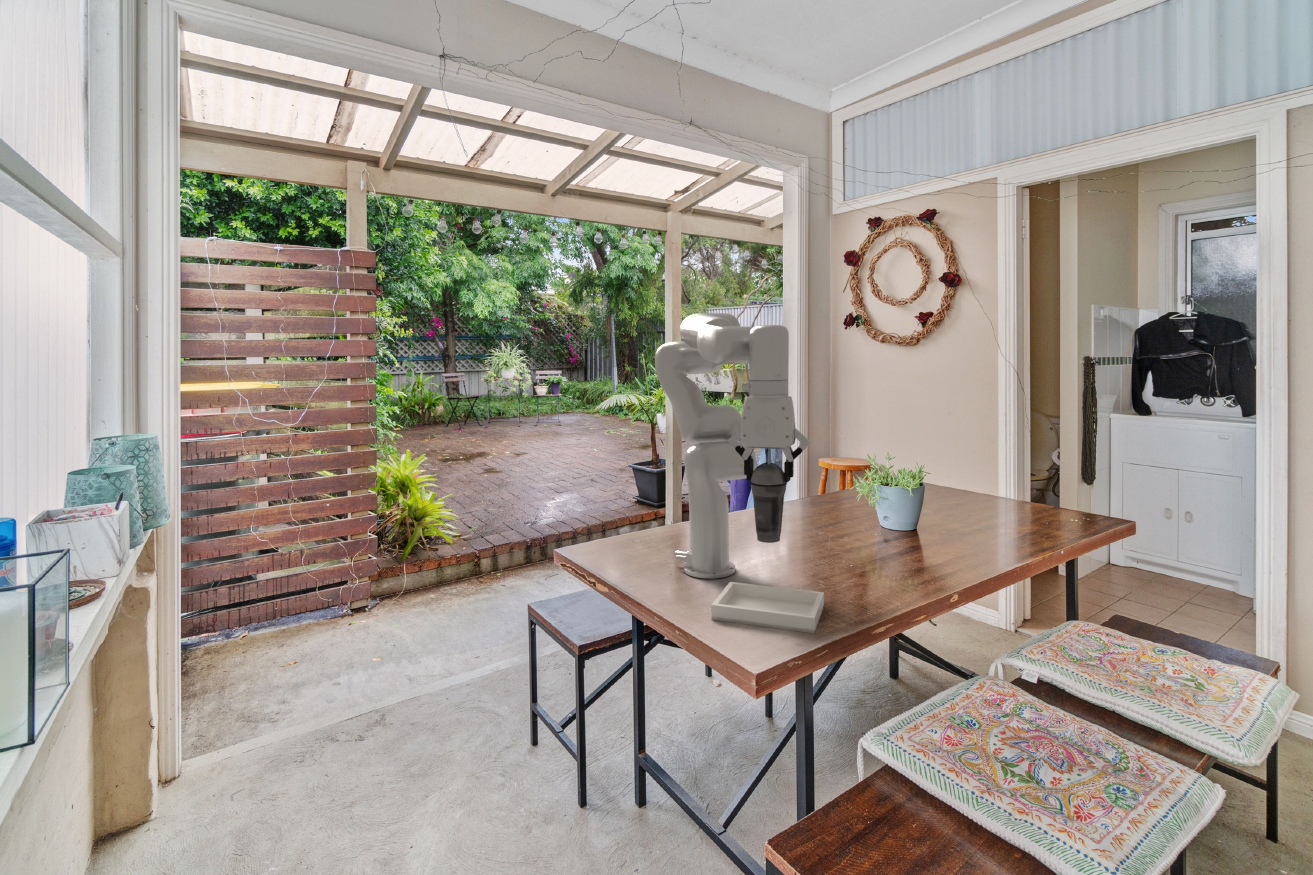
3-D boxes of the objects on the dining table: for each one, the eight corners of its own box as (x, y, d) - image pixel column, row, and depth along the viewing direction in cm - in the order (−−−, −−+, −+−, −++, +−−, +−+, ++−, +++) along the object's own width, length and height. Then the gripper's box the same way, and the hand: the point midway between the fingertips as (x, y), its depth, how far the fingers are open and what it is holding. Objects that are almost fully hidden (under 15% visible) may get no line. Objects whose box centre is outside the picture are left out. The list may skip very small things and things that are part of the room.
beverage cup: (782, 534, 130) (782, 437, 127) (791, 544, 122) (791, 442, 120) (747, 535, 129) (746, 438, 127) (753, 545, 122) (753, 443, 120)
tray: (711, 619, 125) (711, 604, 124) (730, 594, 138) (729, 581, 137) (814, 633, 117) (814, 617, 117) (823, 606, 130) (823, 592, 130)
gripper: (720, 390, 122) (720, 481, 124) (811, 390, 116) (810, 485, 118) (730, 388, 129) (730, 474, 131) (816, 388, 122) (815, 478, 125)
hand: (768, 479), depth 124 cm, fingers closed on beverage cup, 6 cm apart
